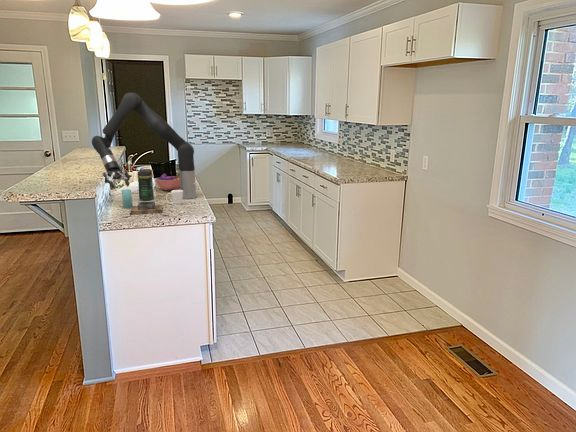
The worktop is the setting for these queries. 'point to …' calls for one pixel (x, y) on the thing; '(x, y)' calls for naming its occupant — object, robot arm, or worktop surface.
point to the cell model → (168, 182)
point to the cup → (176, 197)
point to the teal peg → (127, 199)
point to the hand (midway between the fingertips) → (120, 186)
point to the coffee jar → (145, 185)
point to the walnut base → (146, 208)
